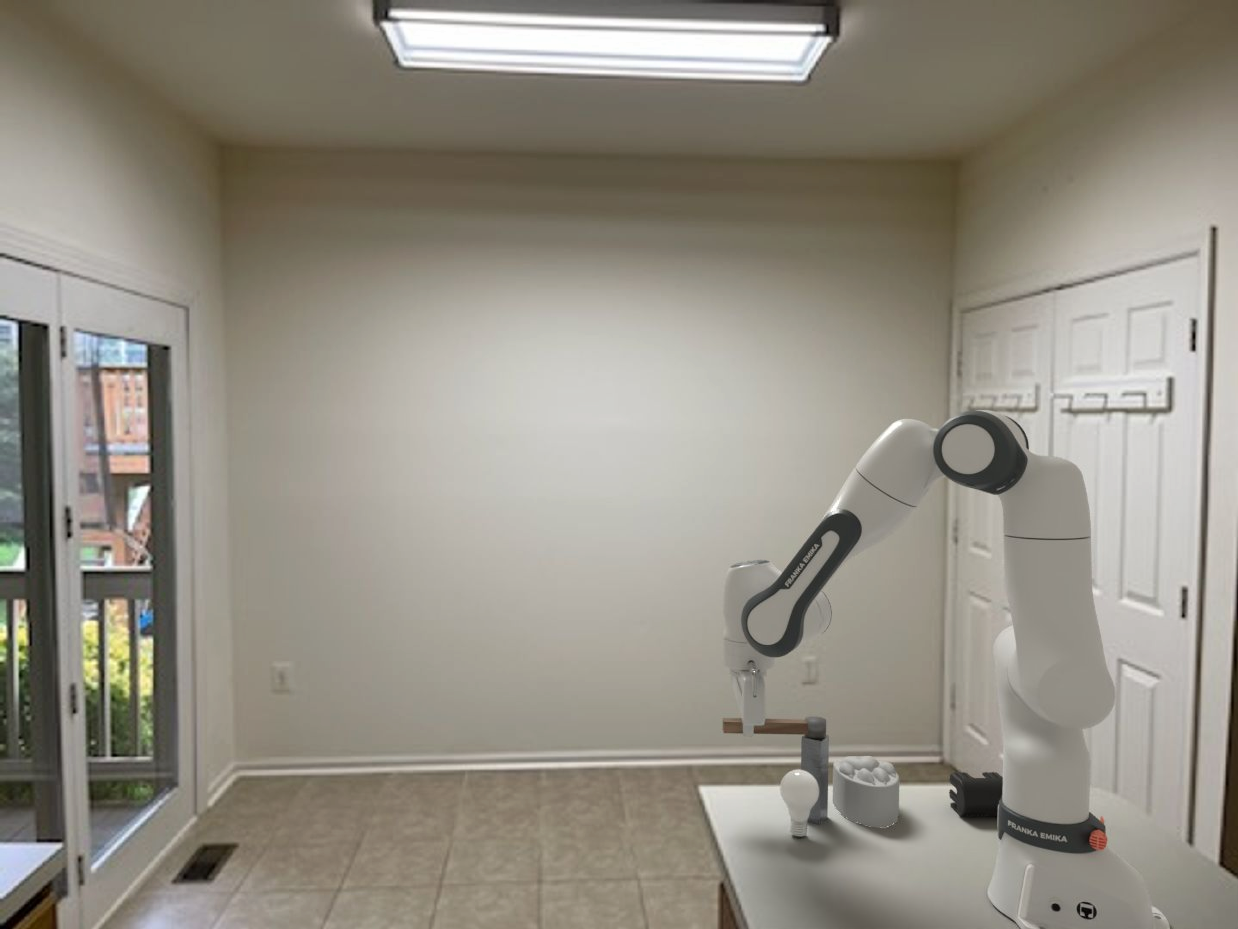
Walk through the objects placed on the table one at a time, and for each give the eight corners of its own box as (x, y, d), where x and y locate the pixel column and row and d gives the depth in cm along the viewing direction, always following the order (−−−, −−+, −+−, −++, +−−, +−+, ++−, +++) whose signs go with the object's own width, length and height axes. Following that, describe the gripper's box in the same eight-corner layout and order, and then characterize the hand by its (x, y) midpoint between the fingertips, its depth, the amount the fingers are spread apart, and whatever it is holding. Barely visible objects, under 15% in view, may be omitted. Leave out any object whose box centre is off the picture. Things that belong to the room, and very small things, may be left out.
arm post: (827, 817, 149) (829, 735, 148) (820, 824, 146) (821, 741, 145) (807, 811, 151) (809, 731, 150) (800, 819, 148) (801, 737, 147)
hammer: (828, 738, 146) (828, 723, 146) (724, 736, 146) (724, 721, 146) (823, 731, 150) (823, 716, 150) (722, 729, 150) (722, 714, 150)
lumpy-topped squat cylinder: (881, 796, 158) (882, 749, 158) (911, 828, 145) (912, 777, 145) (826, 797, 157) (827, 751, 157) (851, 829, 144) (852, 779, 144)
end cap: (964, 824, 147) (965, 785, 147) (946, 806, 154) (947, 769, 154) (1020, 823, 147) (1021, 784, 147) (1000, 805, 154) (1001, 769, 154)
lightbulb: (815, 828, 144) (816, 764, 144) (820, 846, 138) (822, 779, 138) (777, 826, 145) (778, 762, 145) (781, 844, 139) (782, 777, 138)
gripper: (775, 670, 135) (774, 757, 135) (760, 641, 156) (759, 716, 156) (735, 670, 135) (734, 756, 136) (725, 640, 156) (724, 715, 156)
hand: (747, 734), depth 146 cm, fingers closed
